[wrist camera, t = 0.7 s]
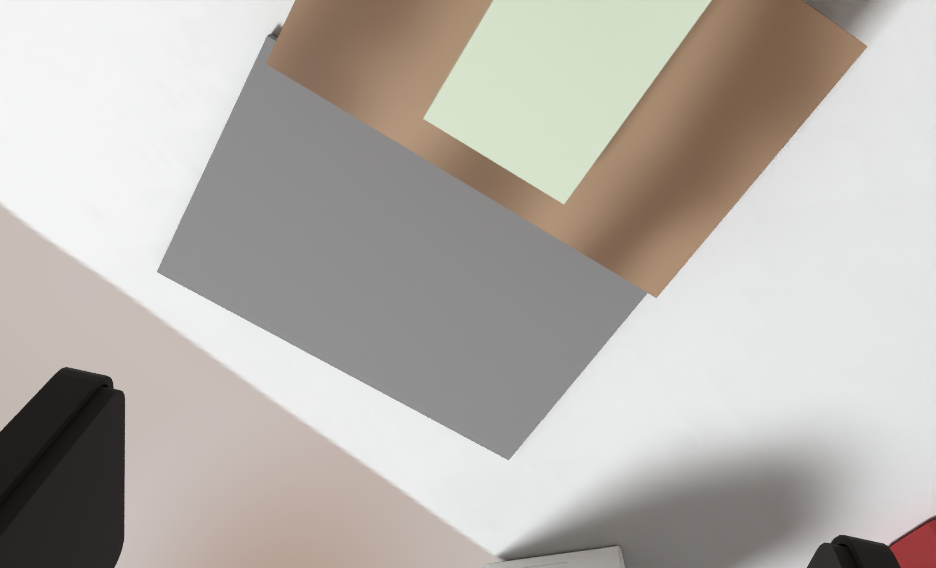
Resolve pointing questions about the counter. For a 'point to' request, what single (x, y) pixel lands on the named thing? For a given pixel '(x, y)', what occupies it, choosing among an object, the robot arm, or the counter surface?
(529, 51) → the tile
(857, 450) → the counter surface
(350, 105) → the board
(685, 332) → the counter surface
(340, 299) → the mat
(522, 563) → the small box
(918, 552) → the stand mixer
